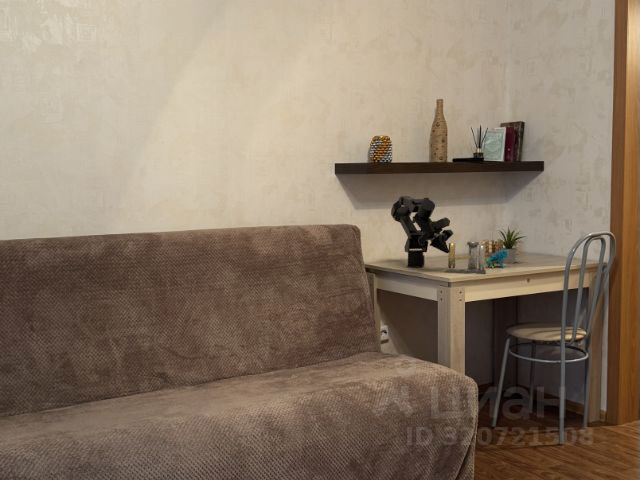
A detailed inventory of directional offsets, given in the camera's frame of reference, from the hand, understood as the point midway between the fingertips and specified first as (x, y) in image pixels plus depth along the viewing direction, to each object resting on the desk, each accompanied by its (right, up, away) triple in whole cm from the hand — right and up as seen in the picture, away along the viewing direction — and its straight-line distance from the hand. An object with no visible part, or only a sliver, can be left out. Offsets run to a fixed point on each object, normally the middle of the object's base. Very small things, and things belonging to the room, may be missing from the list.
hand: (448, 252), depth 317 cm
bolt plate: (+6, -8, -2) cm, 10 cm away
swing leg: (+5, -6, +3) cm, 9 cm away
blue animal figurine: (+23, -7, +15) cm, 28 cm away
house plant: (+32, -5, +31) cm, 45 cm away
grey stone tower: (+12, -7, +3) cm, 14 cm away
